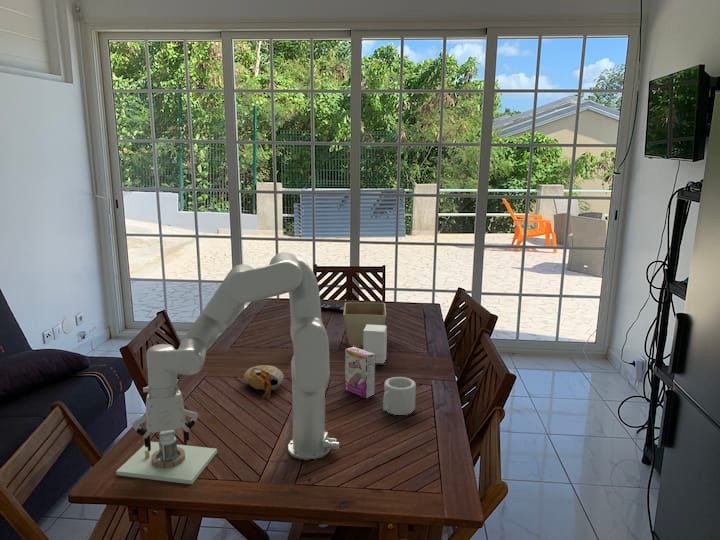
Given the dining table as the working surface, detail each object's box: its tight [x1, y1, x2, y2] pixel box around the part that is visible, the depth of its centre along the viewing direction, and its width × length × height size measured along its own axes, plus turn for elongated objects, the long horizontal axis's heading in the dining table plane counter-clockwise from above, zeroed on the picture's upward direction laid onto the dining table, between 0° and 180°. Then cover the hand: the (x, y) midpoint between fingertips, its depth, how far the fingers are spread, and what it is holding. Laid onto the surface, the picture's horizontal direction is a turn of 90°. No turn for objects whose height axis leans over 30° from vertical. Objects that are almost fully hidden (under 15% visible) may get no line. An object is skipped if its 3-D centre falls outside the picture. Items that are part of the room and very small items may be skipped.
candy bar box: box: [344, 346, 376, 399], centre depth 201 cm, size 11×5×16 cm, turn 47°
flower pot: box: [342, 301, 387, 346], centre depth 253 cm, size 19×19×17 cm
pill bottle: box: [158, 429, 178, 462], centre depth 155 cm, size 5×5×8 cm
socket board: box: [116, 441, 218, 485], centre depth 156 cm, size 22×16×3 cm
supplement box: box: [362, 324, 388, 363], centre depth 231 cm, size 9×9×15 cm
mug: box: [382, 376, 417, 416], centre depth 188 cm, size 14×11×10 cm
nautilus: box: [243, 364, 284, 400], centre depth 203 cm, size 8×22×15 cm
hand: (167, 445), depth 155 cm, fingers open, 9 cm apart
